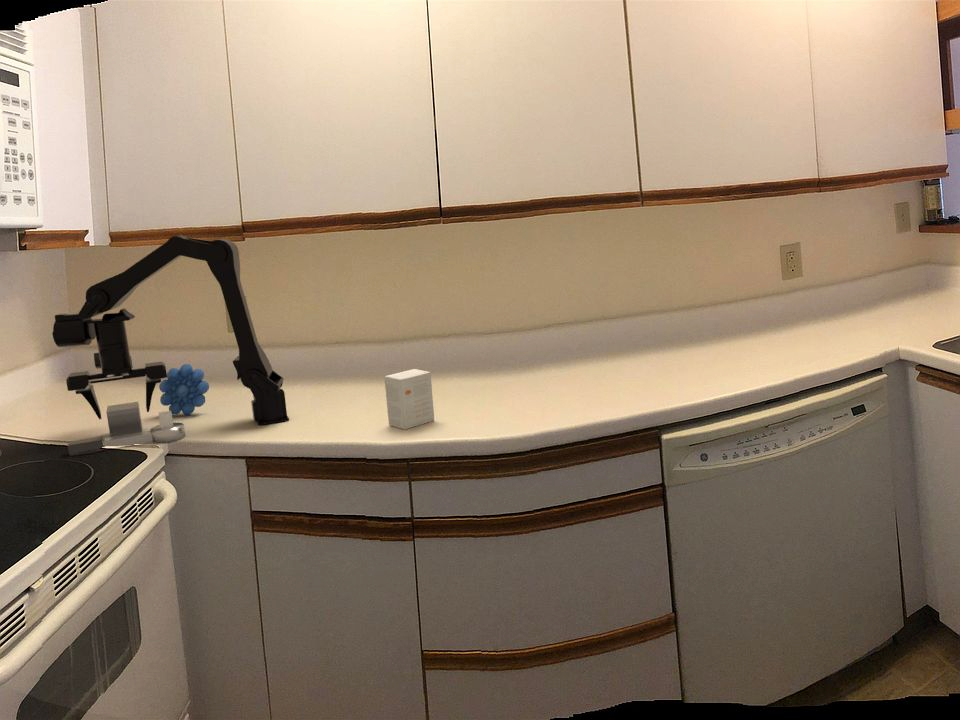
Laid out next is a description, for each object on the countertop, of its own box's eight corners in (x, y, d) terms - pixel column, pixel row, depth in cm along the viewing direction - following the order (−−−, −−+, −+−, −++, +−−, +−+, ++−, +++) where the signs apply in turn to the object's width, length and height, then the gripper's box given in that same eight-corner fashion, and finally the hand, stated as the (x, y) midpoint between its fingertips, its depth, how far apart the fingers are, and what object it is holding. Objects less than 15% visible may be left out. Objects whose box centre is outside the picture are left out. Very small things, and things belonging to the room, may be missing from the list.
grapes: (219, 408, 174) (212, 359, 171) (208, 416, 167) (201, 365, 165) (170, 411, 174) (163, 361, 172) (158, 419, 168) (150, 367, 165)
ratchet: (184, 432, 156) (180, 407, 155) (186, 439, 150) (182, 413, 149) (71, 450, 147) (67, 424, 146) (68, 459, 142) (63, 432, 141)
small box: (418, 416, 156) (414, 368, 154) (435, 421, 152) (431, 371, 150) (387, 425, 151) (383, 375, 149) (404, 430, 147) (399, 379, 145)
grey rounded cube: (142, 428, 161) (138, 401, 160) (142, 434, 155) (138, 407, 154) (112, 432, 159) (107, 406, 157) (111, 439, 153) (106, 412, 152)
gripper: (160, 332, 164) (170, 400, 167) (65, 343, 157) (78, 414, 160) (161, 339, 154) (172, 411, 157) (60, 351, 147) (73, 426, 150)
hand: (124, 415), depth 156 cm, fingers open, 9 cm apart
